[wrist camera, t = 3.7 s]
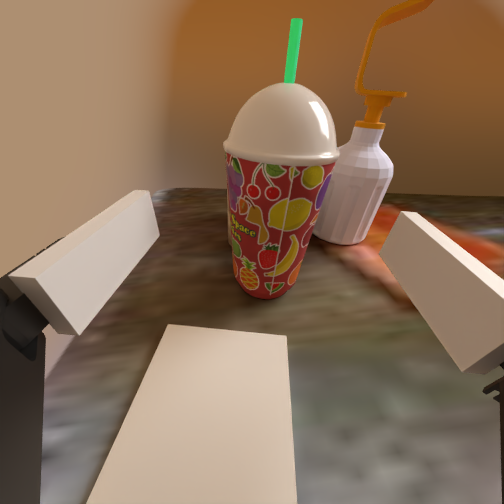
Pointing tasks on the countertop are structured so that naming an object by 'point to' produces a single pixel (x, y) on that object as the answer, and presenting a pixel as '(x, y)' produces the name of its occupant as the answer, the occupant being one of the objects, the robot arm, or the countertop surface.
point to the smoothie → (277, 179)
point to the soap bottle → (362, 156)
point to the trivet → (206, 424)
